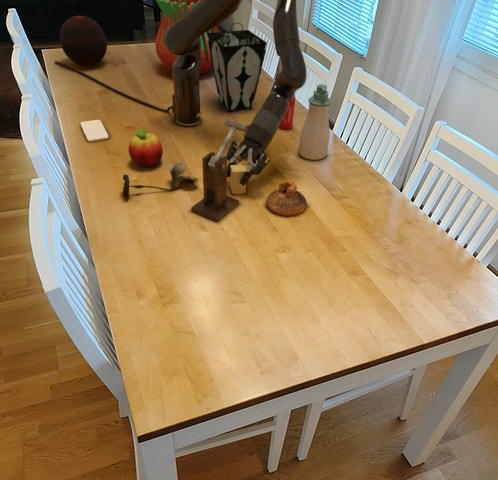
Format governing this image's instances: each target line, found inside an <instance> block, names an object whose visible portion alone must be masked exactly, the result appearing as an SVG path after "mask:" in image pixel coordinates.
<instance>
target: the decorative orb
mask: <svg viewBox="0 0 498 480" xmlns="http://www.w3.org/2000/svg"><path fill="white" fill-rule="evenodd" d="M59 43H60V46H61V49H62V51H63V52H64V55H65V56H66V57H67V58H68V59H69V60H70V61H72V62H73V63H74V64H76V65H79V66H82V67H93V66H95V65H98V64H99V63H101V62H102V61H103V59H104V58H105V56H106V54H107V51H108V40H107V36H106V34H105V32H104V29H103V27H101V25H100V24H98V22H97V21H95V20H93V19H92V18H91V17H88V16H85V15H74V16H72V17H70V18H68V19H66V21H64V23H63V24H62V26H61V28H60V32H59Z"/></svg>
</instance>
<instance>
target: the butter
mask: <svg viewBox="0 0 498 480" xmlns="http://www.w3.org/2000/svg"><path fill="white" fill-rule="evenodd" d="M245 171H246V172H247V168H246V166H245V164H243V163H242V164H237V165H230V177H229V180H230V181H229V188H230V191H231V195H241V194H242V195H243V194H246V191H247V184H245V185H244V186H243V185H242V184H240V183H239V182H240V180H241V178H242V176H243V175H244V173H245Z"/></svg>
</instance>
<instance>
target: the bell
mask: <svg viewBox="0 0 498 480" xmlns="http://www.w3.org/2000/svg"><path fill="white" fill-rule="evenodd" d="M297 189H298V186H297V184H296V182H295V181H293V180H283V181H281V182H280V183H279V185H278V188H277V189H274V190H272V191H271V192H270V193H269V195H268V196H267V198H266V200H265V205H266V207H267V209H269V211H270V212H272V213H274V214H276V215H280V216H287V217H288V216H289V217H290V216H297V215H299V214H301V213H304V211H305V209H306V207H307V206H308V205H307V203H308V202H307V198H306V197H305V195H303V193H302V192H300V191H298V190H297Z"/></svg>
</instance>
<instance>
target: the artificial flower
mask: <svg viewBox="0 0 498 480" xmlns="http://www.w3.org/2000/svg"><path fill="white" fill-rule="evenodd" d="M167 169H168V171H169V173H170V175H171V187H170V188H165V187H159V186H153V185H142V184H136V185H135V184H134V185H130V183H131V181H130V177H129V174H122V175H123V176H122V180H123V181H124V183H123V186H122V194H123V197H124V199H126V198H129V197H130V188H134V189H139V190H140V189H142V188H149V189H158V190H161V191H167V192H172V191H173V190H174V189H176V188H178V187H179V185H180V182H181V181H182V180H191V181H199V178H197V177H192V176H190V175H185V172H186V171H187V168H186V163H185V161H182V162H175V163H173V164H169V165H167ZM183 174H184V175H183Z"/></svg>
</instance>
